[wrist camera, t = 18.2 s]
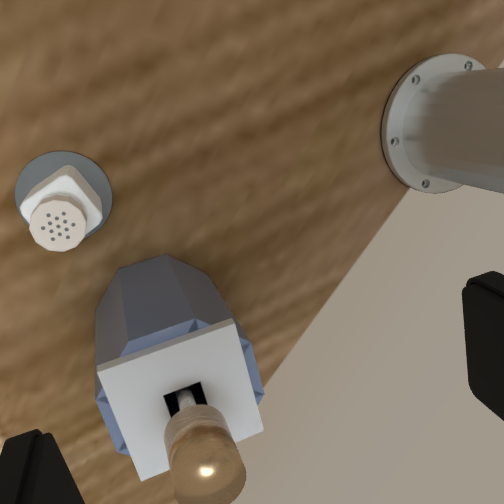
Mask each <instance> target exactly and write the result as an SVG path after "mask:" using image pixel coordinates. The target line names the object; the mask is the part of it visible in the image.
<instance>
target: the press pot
mask: <svg viewBox="0 0 504 504" xmlns="http://www.w3.org/2000/svg"><path fill="white" fill-rule="evenodd" d="M189 385H190V388H191V391H192V394H193V397H194V400H195V403H196V405H199V404H204V405H209V406H212V407H215V408H216V409H218V410H219V411H220V412H221V413H222V414H223V416H224V418H225V420H226V423H227V425H228V427H229V430H230V432H231V435H232V437H233V440H234V442H238V441H240V440H243V439H245V438H247V437H250V436H252V435H254V434H257V433H259V432H262V431H264V429H263V425H262V422H261V418H260V415H259V411H258V408H257V405H258V404H259V402H260V401H261V399H262V397H263V395H264V390H263V386H262V383H261V379H260V375H259V371H258V367H257V363H256V360H255V356H254V352H253V348H252V344H251V341H250V340H249V338H248V337H247V335H246V334H245V332H244V331H243V329H242V328H241V326H240V324H239V323H238V321H237V320H236V318H235V317H234V315H233V314H232V312H231V310H230V309H229V307H228V306H227V304H226V303H225V301H224V300H223V298H222V297H221V295H220V293H219V292H218V290H217V289H216V287H215V286H214V284H213V283H212V281H211V279H210V278H209V276H208V275H207V274H206V273H204V272H202V271H200V270H198V269H196V268H194V267H192V266H190V265H188V264H186V263H184V262H181V261H179V260H177V259H175V258H173V257H171V256H169V255H167V254H164V255H161V256H158V257H154V258H151V259H148V260H145V261H142V262H139V263H135V264H132V265H129V266H126V267H123V268H120V269H118V270H117V272H116V274H115V276H114V278H113V279H112V281H111V283H110V285H109V287H108V288H107V290H106V292H105V294H104V296H103V297H102V299H101V301H100V303H99V305H98V306H97V308H96V310H95V400H96V402H97V405H98V407H99V409H100V412H101V414H102V416H103V419H104V421H105V424H106V426H107V428H108V431H109V433H110V436H111V438H112V440H113V443H114V445H115V448H116V450H117V452H118V453H122V454H125V455H129V456H131V457H132V460H133V462H134V465H135V467H136V470H137V472H138V475H139V477H140V480H141V481H143V480H146V479H148V478H150V477H153V476H155V475H158V474H160V473H163V472H165V471H167V470H170V468H169V463H168V458H167V453H166V448H165V443H164V431H165V428H166V426H167V424H168V422H169V420H170V419H171V418H172V417H173V416H174V415H175V414H176V413H177V412H179V411H180V408H179V404H178V400H177V397H176V393H175V391H176V390H179V389H181V388H184V387H187V386H189Z"/></svg>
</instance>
